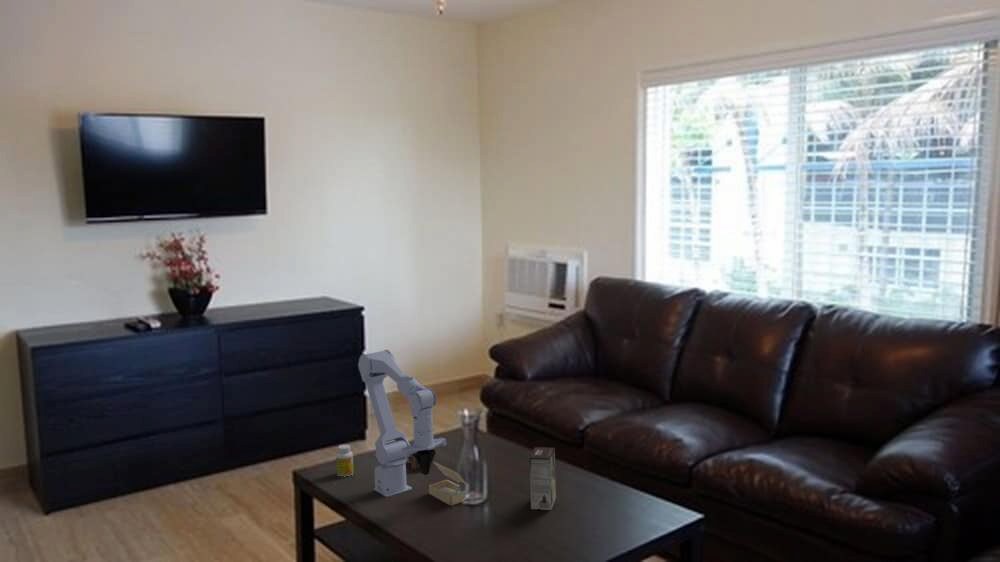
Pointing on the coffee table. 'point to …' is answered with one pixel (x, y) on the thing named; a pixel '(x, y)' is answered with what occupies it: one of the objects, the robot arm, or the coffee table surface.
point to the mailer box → (443, 496)
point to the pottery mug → (414, 461)
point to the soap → (448, 491)
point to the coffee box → (542, 478)
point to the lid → (450, 473)
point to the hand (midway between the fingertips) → (425, 473)
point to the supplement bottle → (344, 461)
